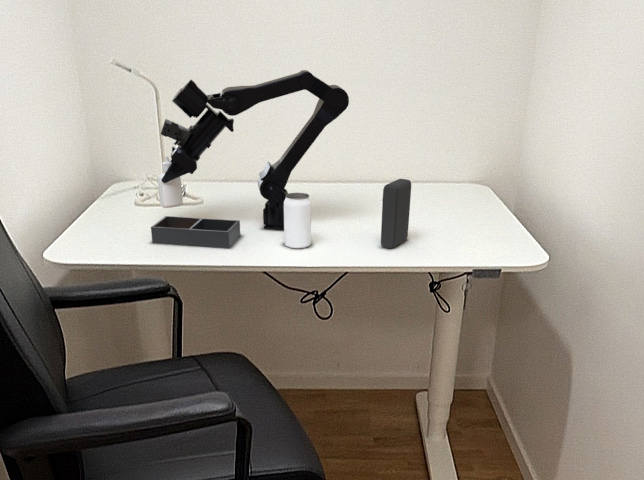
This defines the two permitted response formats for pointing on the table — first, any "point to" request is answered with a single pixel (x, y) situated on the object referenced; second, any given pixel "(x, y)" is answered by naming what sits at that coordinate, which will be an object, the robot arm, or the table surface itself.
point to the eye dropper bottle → (169, 189)
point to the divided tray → (196, 231)
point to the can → (297, 220)
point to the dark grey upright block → (395, 212)
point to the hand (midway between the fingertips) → (163, 179)
